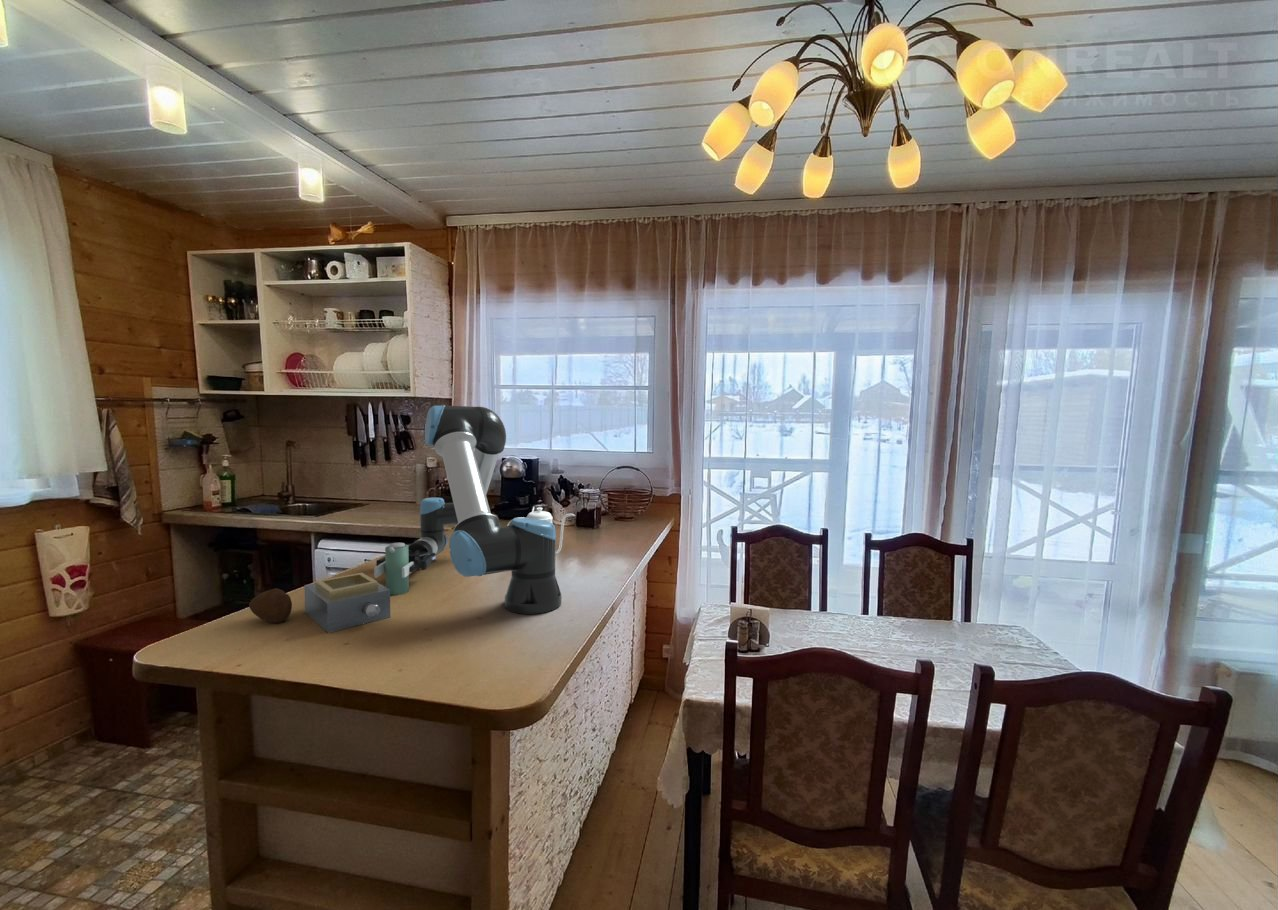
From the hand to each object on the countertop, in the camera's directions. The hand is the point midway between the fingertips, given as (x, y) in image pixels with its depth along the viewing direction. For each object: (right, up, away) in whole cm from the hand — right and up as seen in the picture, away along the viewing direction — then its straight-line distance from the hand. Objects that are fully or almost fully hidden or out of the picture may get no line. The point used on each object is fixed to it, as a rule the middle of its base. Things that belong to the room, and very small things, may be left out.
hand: (389, 572), depth 143 cm
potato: (-20, -8, -17) cm, 28 cm away
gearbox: (-4, -8, -13) cm, 16 cm away
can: (0, -7, +5) cm, 9 cm away
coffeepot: (+34, -5, +42) cm, 54 cm away
